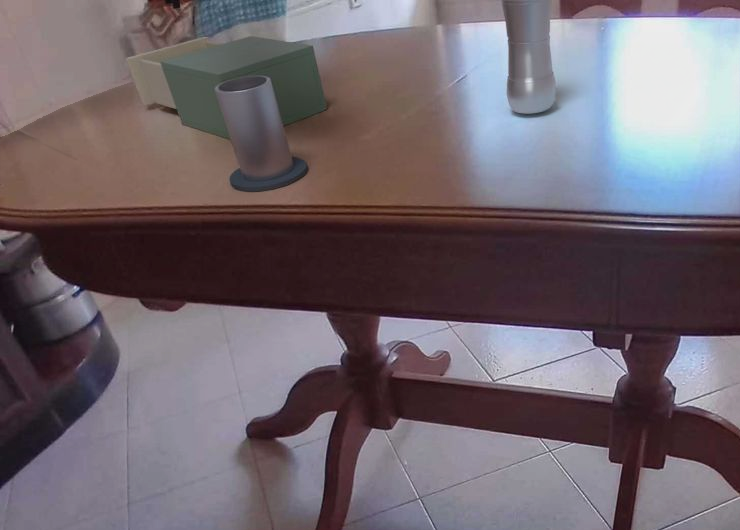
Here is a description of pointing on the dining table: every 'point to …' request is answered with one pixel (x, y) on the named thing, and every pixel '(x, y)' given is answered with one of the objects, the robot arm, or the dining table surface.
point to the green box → (241, 59)
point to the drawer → (160, 70)
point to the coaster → (292, 176)
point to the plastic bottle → (529, 55)
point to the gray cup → (255, 127)
